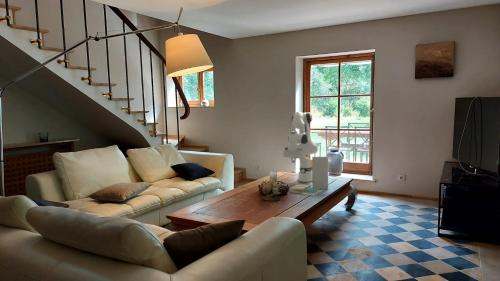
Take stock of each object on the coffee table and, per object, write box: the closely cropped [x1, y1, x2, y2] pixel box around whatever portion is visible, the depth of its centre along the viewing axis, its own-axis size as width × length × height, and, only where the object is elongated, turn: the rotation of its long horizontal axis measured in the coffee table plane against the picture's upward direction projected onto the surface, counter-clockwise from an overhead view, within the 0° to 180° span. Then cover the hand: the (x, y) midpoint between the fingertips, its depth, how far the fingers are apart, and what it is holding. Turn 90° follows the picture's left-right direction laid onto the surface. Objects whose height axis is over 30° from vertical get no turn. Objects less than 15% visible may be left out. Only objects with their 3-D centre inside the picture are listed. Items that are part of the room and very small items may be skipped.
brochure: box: [311, 156, 329, 190], centre depth 330 cm, size 14×6×30 cm, turn 85°
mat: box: [302, 189, 325, 197], centre depth 316 cm, size 20×12×1 cm, turn 145°
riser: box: [289, 183, 311, 195], centre depth 323 cm, size 18×12×4 cm, turn 144°
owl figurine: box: [261, 179, 281, 202], centre depth 297 cm, size 18×12×17 cm, turn 52°
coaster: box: [305, 186, 318, 193], centre depth 317 cm, size 8×8×3 cm
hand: (293, 162), depth 331 cm, fingers closed
